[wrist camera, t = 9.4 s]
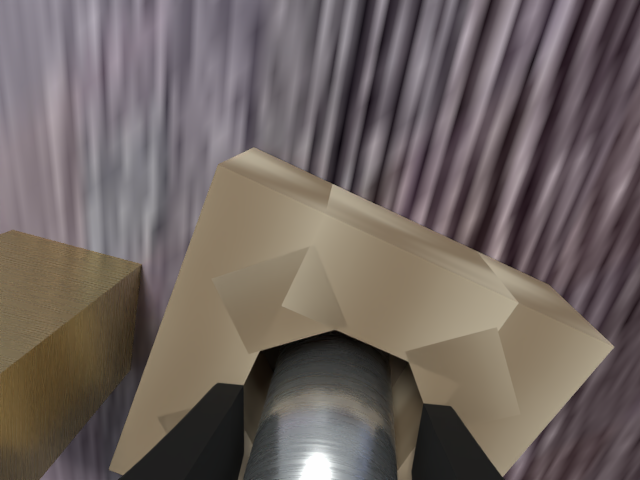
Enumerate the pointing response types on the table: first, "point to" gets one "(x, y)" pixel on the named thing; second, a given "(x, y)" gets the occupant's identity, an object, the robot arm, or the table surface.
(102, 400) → the square bit
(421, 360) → the socket block
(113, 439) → the table surface
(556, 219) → the table surface
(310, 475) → the round peg
